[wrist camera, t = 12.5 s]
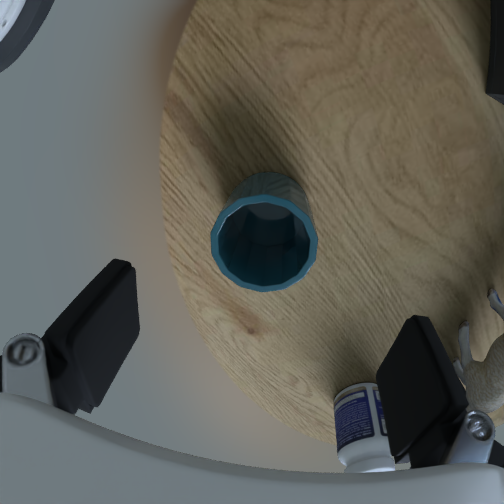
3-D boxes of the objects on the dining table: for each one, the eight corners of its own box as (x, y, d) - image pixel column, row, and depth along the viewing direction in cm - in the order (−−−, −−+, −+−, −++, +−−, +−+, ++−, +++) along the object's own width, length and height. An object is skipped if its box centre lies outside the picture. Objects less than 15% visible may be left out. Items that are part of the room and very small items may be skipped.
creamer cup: (212, 203, 20) (189, 236, 15) (278, 154, 18) (275, 172, 14) (260, 261, 22) (253, 307, 17) (325, 219, 20) (337, 258, 15)
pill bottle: (328, 411, 30) (332, 489, 21) (338, 381, 27) (347, 469, 18) (376, 409, 29) (387, 483, 20) (391, 379, 27) (410, 461, 18)
